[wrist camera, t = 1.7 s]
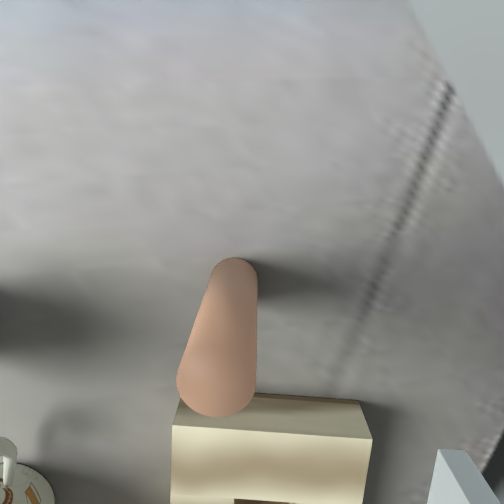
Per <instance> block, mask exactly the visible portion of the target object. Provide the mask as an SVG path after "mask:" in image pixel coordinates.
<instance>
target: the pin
mask: <svg viewBox="0 0 504 504" xmlns="http://www.w3.org/2000/svg"><path fill="white" fill-rule="evenodd" d="M257 295H258V278H257V273H256V271H255V269H254V268H253V266H252V265H251V264H250V263H248V262H247V261H245V260H243V259H239V258H228V259H225V260H223V261H221V262H220V263H218V264H217V265H216V267H215V268H214V270H213V272H212V274H211V277H210V280H209V283H208V286H207V289H206V292H205V294H204V297H203V300H202V303H201V306H200V309H199V312H198V314H197V317H196V320H195V323H194V326H193V329H192V332H191V335H190V337H189V340H188V343H187V346H186V349H185V352H184V355H183V358H182V360H181V363H180V366H179V369H178V372H177V378H176V383H177V389H178V392H179V394H180V396H181V398H182V400H183V401H184V402H185V403H186V405H187V406H189V407H190V408H191V409H192V410H194V411H196V412H198V413H199V414H202V415H205V416H209V417H226V416H230V415H233V414H235V413H237V412H239V411H241V410H242V409H243V408H245V407H246V406H247V405H248V404H249V402H250V401H251V399H252V398H253V395H254V393H255V389H256V359H257Z"/></svg>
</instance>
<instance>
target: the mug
mask: <svg viewBox="0 0 504 504" xmlns="http://www.w3.org/2000/svg"><path fill="white" fill-rule="evenodd" d="M0 456H2V457H3V460H4V463H3V464H0V504H55V498H54V493H53V490H52V488H51V486H50V484H49V483H48V482H47V480H46V479H45V478H44V477H43V476H42V475H41V474H39V473H38V472H37V471H35V470H33V469H31V468H29V467H27V466H24V465H20V464H16V462H17V448H16V446H15V445H14V443H13V442H12V441H10V440H9V439H7V438H5V437H0Z"/></svg>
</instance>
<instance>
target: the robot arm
mask: <svg viewBox="0 0 504 504" xmlns="http://www.w3.org/2000/svg"><path fill="white" fill-rule="evenodd" d="M427 504H500V502H499V500H498V499H497V498H496V496H495V494H494V493H493V491H492V490H491V489H490V487H489V485H488V484H487V482H486V481H485V479H484V478H483V476H482V475H481V473H480V472H479V470H478V469H477V467H476V466H475V464H474V463H473V461H472V459H471V458H470V456H469V455H468V453H467V452H466V451H461V450H447V449H438V453H437V458H436V463H435V468H434V472H433V477H432V482H431V487H430V492H429V497H428V501H427Z"/></svg>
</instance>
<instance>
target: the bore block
mask: <svg viewBox="0 0 504 504" xmlns="http://www.w3.org/2000/svg"><path fill="white" fill-rule="evenodd" d="M372 441H373V439H372V436H371V434H370V431H369V428H368V425H367V423H366V420H365V417H364V415H363V412H362V409H361V407H360V404H359V401H358V400H345V399H331V398H317V397H303V396H289V395H275V394H261V393H254V395H253V398H252V399H251V401H250V402H249V404H248V405H247V406H246V407H245V408H243V409H242V410H241V411H239V412H237V413H235V414H233V415H230V416H226V417H209V416H205V415H202V414H199V413H198V412H196V411H194V410H192V409H191V408H190V407H189V406H187V405H186V403H185V402H184V401H183V400H182V398H180V402H179V405H178V408H177V412H176V415H175V418H174V422H173V425H172V459H171V496H170V504H362V502H363V495H364V489H365V483H366V477H367V471H368V465H369V459H370V453H371V447H372Z"/></svg>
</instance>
